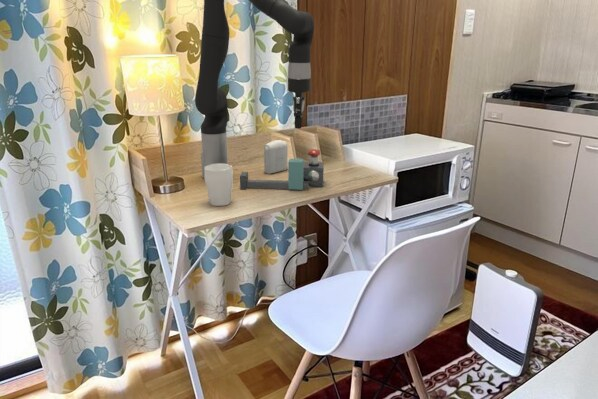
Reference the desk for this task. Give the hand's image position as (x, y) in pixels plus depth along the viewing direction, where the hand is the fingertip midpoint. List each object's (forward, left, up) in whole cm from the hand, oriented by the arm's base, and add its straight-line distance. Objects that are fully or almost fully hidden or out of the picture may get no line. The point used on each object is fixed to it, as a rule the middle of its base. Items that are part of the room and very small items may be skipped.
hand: (298, 125), depth 157 cm
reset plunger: (+5, +5, -17) cm, 19 cm away
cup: (-24, -17, -22) cm, 37 cm away
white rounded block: (-10, +20, -22) cm, 32 cm away
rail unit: (-6, +3, -22) cm, 23 cm away
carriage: (-1, -1, -22) cm, 22 cm away
